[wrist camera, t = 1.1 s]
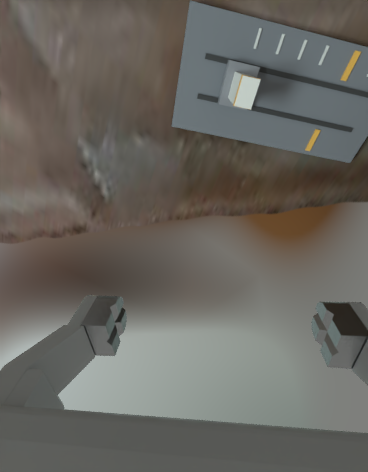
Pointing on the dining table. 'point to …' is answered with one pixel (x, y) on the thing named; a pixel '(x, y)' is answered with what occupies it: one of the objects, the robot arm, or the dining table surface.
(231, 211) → the dining table surface
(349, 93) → the console
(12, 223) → the dining table surface
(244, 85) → the fader
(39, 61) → the dining table surface
